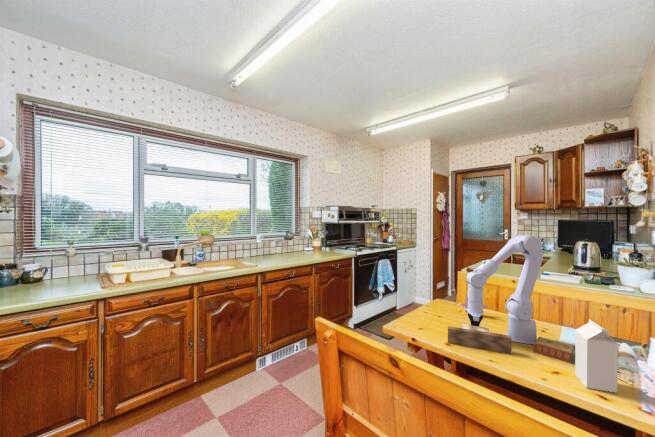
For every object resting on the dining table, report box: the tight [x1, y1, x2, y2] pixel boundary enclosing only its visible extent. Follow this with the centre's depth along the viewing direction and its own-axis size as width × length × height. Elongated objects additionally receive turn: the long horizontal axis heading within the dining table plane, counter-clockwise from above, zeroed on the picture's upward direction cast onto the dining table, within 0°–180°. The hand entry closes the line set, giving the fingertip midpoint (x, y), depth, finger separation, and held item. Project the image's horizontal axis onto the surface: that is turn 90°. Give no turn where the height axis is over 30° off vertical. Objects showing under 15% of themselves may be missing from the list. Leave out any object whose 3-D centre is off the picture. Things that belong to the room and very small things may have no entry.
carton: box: [533, 336, 575, 366], centre depth 99 cm, size 8×16×4 cm, turn 42°
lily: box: [459, 296, 489, 313], centre depth 140 cm, size 12×12×10 cm
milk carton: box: [574, 318, 619, 394], centre depth 83 cm, size 7×7×19 cm
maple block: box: [460, 323, 490, 333], centre depth 112 cm, size 10×7×5 cm
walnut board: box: [447, 325, 513, 355], centre depth 107 cm, size 22×2×6 cm, turn 65°
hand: (474, 331), depth 116 cm, fingers closed, pressing on maple block
